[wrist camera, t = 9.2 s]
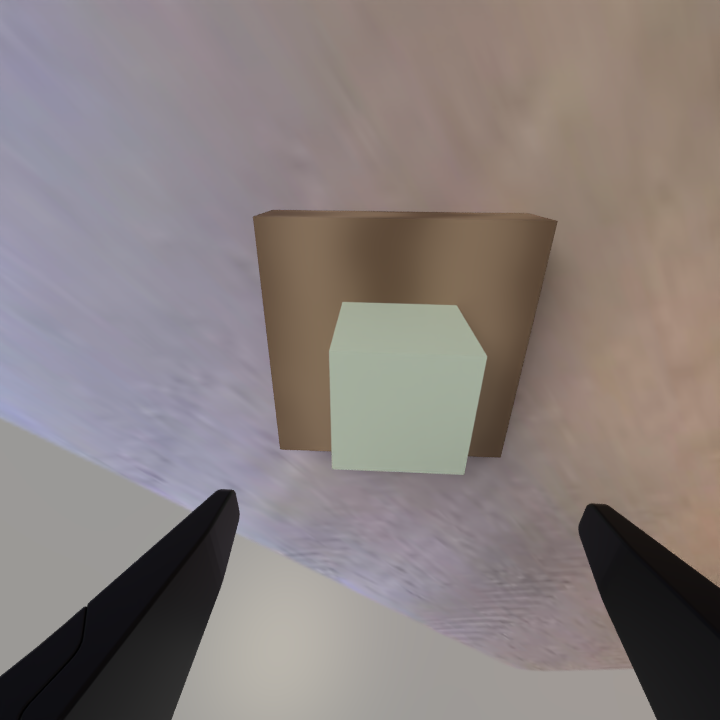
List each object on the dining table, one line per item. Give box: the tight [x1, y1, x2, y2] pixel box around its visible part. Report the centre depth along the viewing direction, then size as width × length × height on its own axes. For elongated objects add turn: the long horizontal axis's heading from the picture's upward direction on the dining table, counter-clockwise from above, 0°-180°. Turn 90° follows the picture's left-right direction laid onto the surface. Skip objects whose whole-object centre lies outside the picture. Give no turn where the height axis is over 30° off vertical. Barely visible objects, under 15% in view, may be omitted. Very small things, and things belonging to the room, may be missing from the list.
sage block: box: [329, 302, 487, 475], centre depth 15 cm, size 5×5×5 cm
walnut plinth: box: [253, 210, 557, 457], centre depth 18 cm, size 12×12×3 cm
